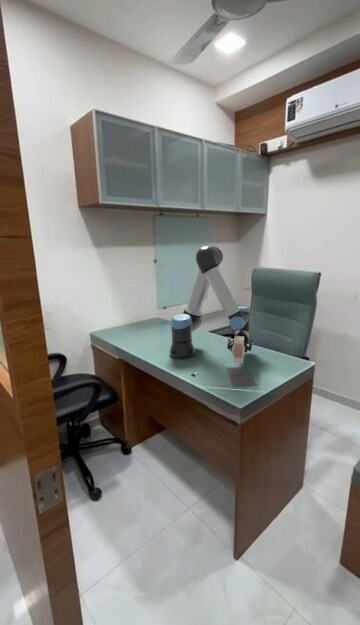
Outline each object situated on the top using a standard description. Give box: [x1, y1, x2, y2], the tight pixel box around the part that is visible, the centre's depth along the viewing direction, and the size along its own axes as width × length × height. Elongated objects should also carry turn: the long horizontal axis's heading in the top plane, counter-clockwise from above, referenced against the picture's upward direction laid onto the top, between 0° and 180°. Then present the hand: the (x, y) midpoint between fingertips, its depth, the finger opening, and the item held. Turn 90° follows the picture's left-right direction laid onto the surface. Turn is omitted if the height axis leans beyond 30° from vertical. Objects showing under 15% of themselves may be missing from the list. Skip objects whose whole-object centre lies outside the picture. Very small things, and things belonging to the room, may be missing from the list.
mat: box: [225, 366, 258, 388], centre depth 148 cm, size 22×11×1 cm, turn 0°
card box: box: [233, 335, 245, 364], centre depth 152 cm, size 6×4×12 cm
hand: (237, 352), depth 147 cm, fingers closed on card box, 4 cm apart
